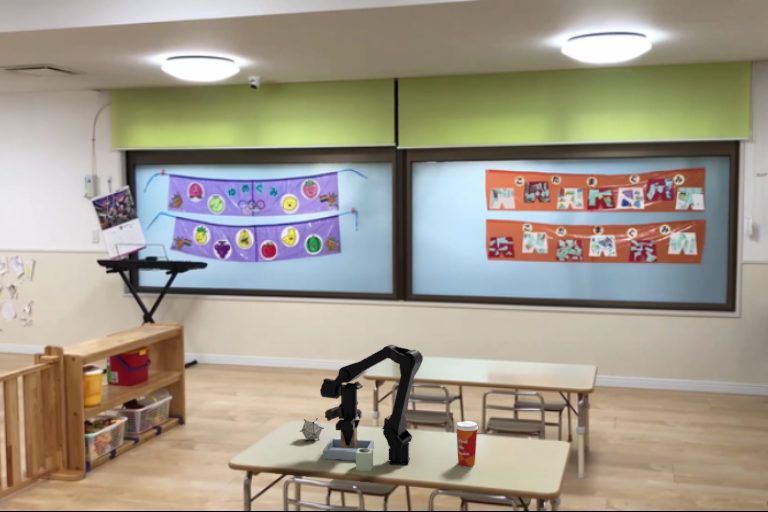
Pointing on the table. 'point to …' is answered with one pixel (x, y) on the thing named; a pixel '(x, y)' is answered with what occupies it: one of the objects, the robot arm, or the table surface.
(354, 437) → the walnut block
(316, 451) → the table surface
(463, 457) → the paper cup
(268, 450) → the table surface
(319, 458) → the table surface
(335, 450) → the tray
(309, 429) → the game die
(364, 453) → the sage block
